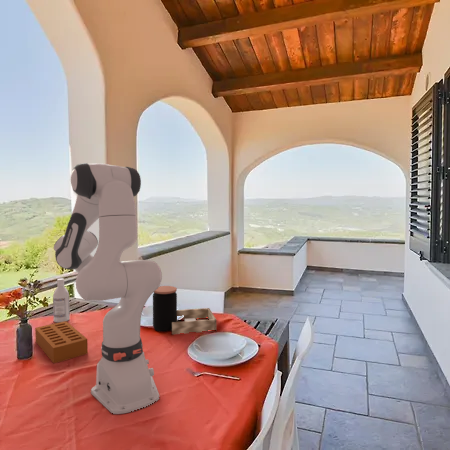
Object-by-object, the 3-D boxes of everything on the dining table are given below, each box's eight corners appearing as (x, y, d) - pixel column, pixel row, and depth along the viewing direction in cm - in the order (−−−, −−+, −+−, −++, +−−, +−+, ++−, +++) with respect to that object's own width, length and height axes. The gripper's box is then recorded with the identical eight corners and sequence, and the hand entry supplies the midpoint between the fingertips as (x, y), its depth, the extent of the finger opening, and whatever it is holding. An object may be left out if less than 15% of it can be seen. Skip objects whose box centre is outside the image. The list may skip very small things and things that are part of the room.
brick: (88, 354, 129) (87, 339, 128) (53, 364, 121) (53, 348, 120) (66, 334, 147) (66, 321, 147) (35, 342, 139) (34, 327, 139)
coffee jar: (179, 324, 160) (179, 286, 159) (173, 332, 149) (173, 292, 148) (157, 323, 161) (156, 285, 160) (149, 331, 150) (149, 291, 149)
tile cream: (185, 326, 158) (185, 322, 158) (184, 322, 163) (184, 318, 163) (196, 325, 159) (196, 321, 159) (194, 322, 164) (194, 317, 164)
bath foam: (61, 317, 168) (60, 276, 166) (72, 318, 165) (72, 278, 164) (50, 321, 161) (49, 279, 160) (61, 323, 159) (60, 281, 157)
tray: (172, 334, 148) (172, 323, 147) (169, 320, 164) (169, 310, 164) (216, 330, 152) (216, 319, 152) (209, 317, 169) (209, 307, 168)
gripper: (89, 266, 136) (115, 289, 139) (96, 256, 155) (119, 277, 159) (77, 277, 135) (104, 300, 138) (86, 266, 155) (109, 287, 158)
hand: (112, 288), depth 149 cm, fingers closed
